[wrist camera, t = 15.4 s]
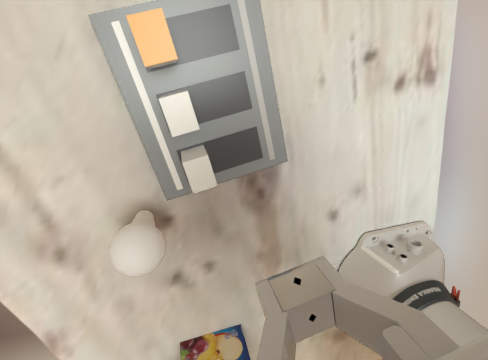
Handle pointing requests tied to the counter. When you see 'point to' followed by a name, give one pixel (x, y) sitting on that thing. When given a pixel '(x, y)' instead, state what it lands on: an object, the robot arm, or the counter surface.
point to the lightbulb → (137, 246)
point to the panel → (199, 92)
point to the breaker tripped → (152, 38)
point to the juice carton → (217, 346)
